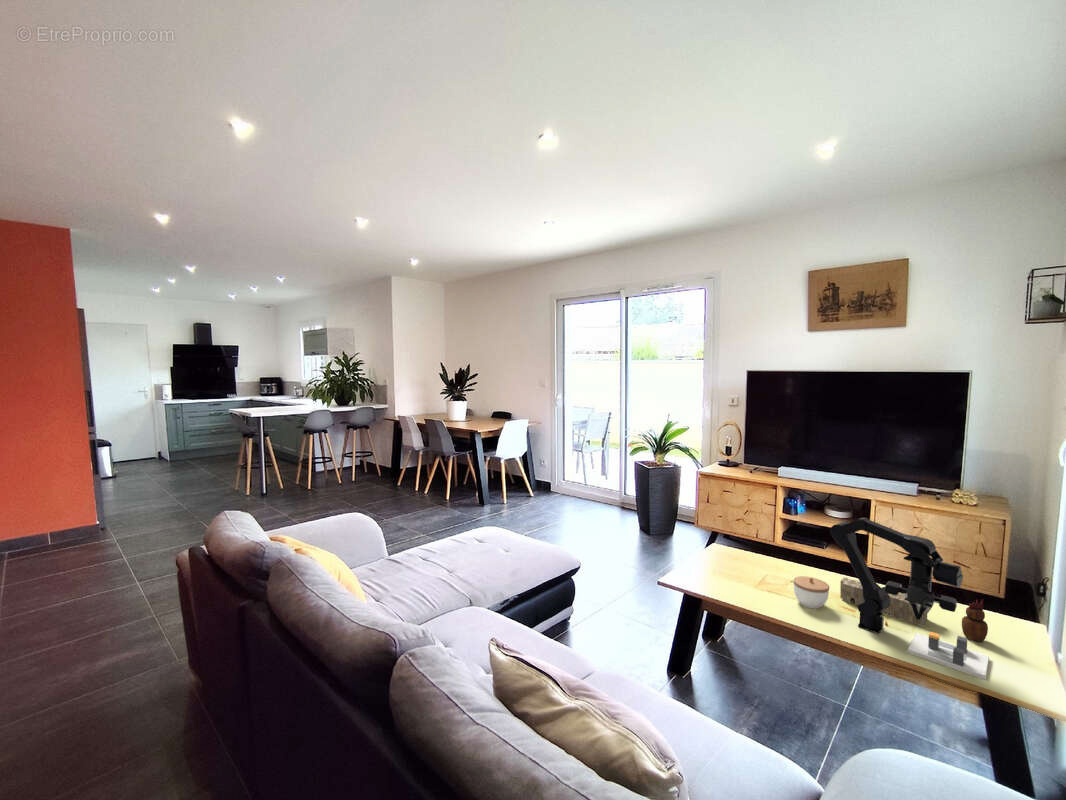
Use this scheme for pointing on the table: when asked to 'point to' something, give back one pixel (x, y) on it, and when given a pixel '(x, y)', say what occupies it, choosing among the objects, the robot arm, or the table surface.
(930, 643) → the block
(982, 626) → the wooden figurine
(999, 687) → the table surface
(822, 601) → the lidded bowl
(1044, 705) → the table surface
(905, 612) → the block tower
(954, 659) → the panel
